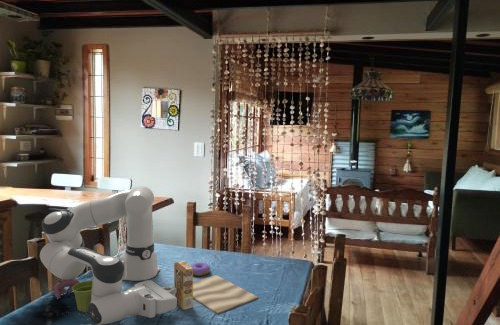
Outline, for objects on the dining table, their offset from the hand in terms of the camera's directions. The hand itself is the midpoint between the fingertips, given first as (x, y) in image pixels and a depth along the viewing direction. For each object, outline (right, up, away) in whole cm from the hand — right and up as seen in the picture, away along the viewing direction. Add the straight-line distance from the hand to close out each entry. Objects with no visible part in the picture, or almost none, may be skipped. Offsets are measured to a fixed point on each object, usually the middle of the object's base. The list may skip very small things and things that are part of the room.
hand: (174, 289), depth 141 cm
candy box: (+3, -7, +4) cm, 8 cm away
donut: (+5, -4, +34) cm, 35 cm away
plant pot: (-32, -7, -1) cm, 33 cm away
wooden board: (+14, -6, +14) cm, 21 cm away
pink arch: (-44, -5, +9) cm, 45 cm away
